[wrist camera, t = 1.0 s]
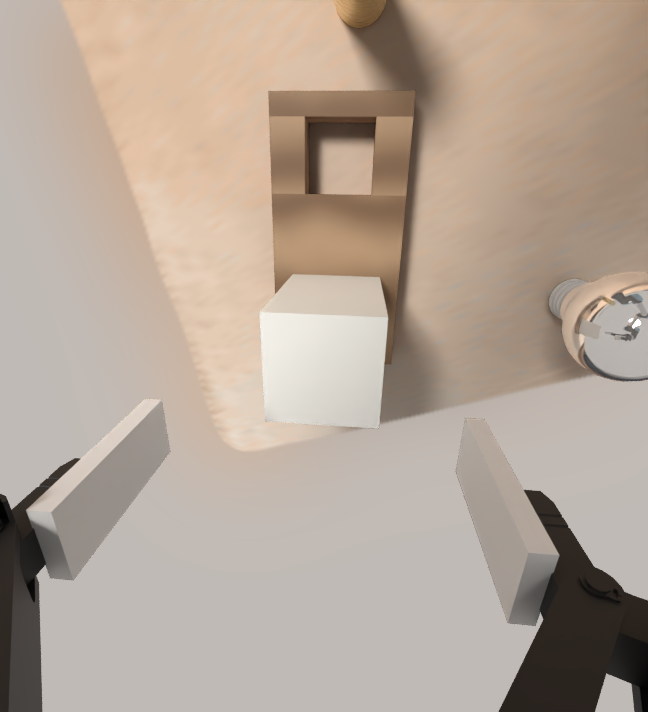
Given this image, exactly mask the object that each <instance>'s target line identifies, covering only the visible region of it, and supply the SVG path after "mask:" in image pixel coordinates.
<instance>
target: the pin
mask: <svg viewBox="0 0 648 712" xmlns="http://www.w3.org/2000/svg"><path fill="white" fill-rule="evenodd" d="M386 1H387V0H334V2H335V7H336V10H337V12H338V14H339V16H340V18H341V19H342V20H343V21H344V22H345V23H346V24H348V25H349V26H352V27H355V28H363V27H366V26H369V25H371V24H372V23H373V22H375V21H376V20H377V19H378V18H379V16H380V15H381V13H382V12H383V10H384V7H385V4H386Z"/></svg>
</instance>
